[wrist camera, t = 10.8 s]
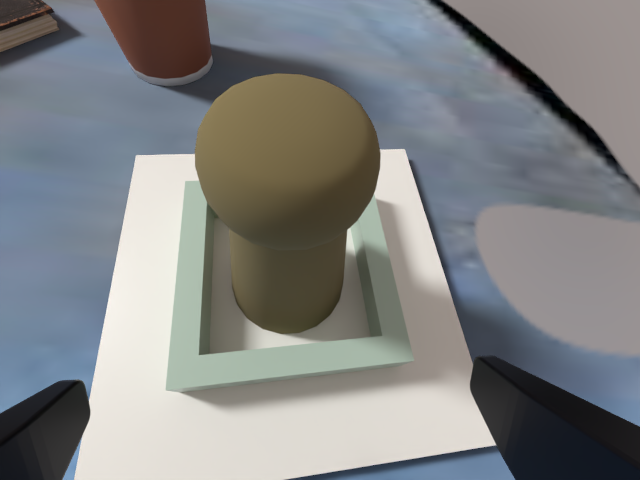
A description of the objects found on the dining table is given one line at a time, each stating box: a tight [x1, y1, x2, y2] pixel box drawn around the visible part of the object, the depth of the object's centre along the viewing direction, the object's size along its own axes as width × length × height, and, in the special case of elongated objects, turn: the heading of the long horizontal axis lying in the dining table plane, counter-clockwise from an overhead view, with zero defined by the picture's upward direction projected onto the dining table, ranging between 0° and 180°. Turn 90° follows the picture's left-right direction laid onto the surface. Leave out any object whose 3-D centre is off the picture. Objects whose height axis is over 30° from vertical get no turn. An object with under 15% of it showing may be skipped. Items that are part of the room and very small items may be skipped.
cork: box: [195, 73, 381, 334], centre depth 13 cm, size 6×6×11 cm
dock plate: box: [74, 149, 496, 480], centre depth 17 cm, size 18×18×3 cm
